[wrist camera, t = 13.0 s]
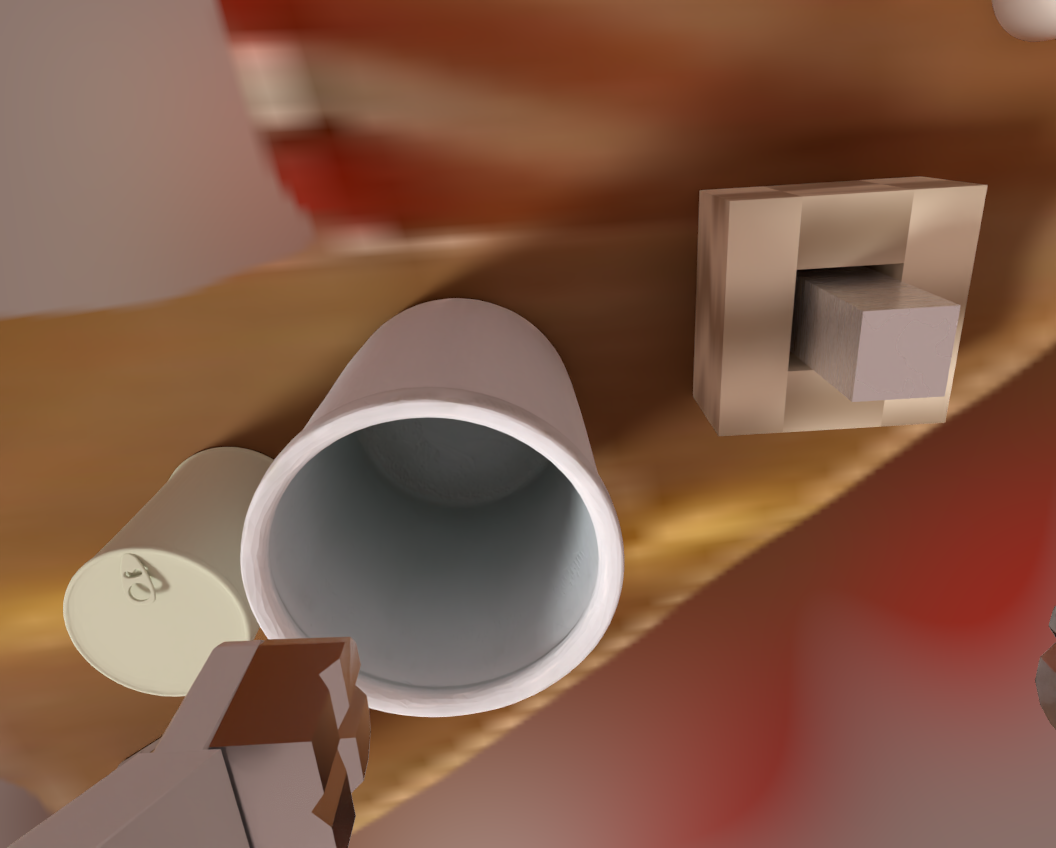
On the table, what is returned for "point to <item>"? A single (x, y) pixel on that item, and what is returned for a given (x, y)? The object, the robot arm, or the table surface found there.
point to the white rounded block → (1027, 18)
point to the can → (170, 578)
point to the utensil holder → (441, 517)
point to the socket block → (769, 286)
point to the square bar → (872, 333)
